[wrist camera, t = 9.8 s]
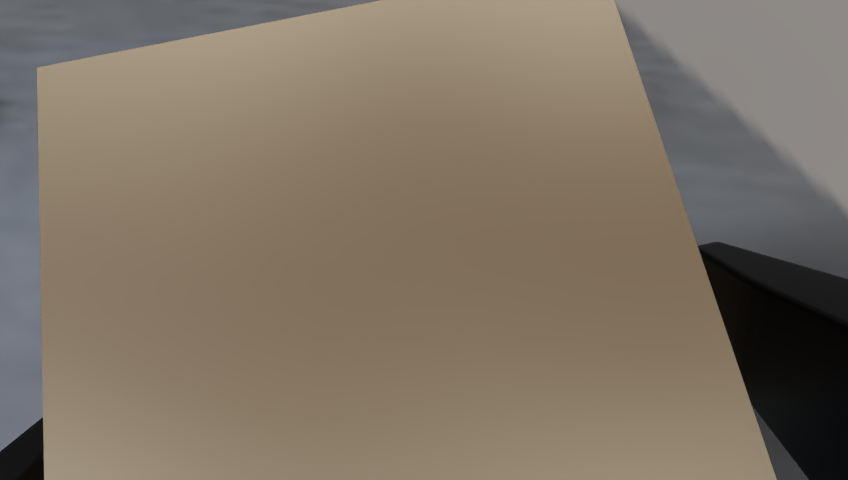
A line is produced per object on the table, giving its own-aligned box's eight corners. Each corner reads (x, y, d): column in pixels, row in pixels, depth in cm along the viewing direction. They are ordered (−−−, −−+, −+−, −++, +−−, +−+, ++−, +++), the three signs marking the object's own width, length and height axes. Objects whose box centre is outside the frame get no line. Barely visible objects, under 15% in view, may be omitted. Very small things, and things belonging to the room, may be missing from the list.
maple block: (527, 433, 16) (813, 586, 4) (358, 468, 16) (48, 749, 4) (489, 267, 17) (600, -42, 5) (332, 299, 17) (37, 68, 5)
